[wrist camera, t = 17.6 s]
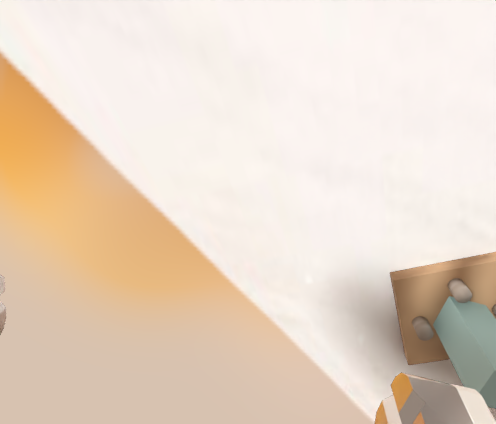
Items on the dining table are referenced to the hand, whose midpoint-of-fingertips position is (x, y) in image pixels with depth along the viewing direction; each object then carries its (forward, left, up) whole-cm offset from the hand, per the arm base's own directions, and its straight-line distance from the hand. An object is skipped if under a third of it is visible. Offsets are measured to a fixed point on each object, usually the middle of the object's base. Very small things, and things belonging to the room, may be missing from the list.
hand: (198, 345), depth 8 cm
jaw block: (-14, +27, -30) cm, 42 cm away
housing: (-14, +27, -31) cm, 43 cm away
